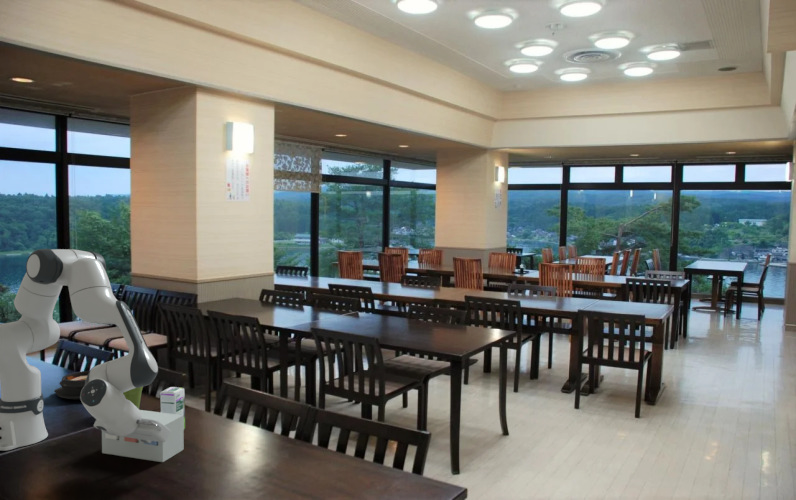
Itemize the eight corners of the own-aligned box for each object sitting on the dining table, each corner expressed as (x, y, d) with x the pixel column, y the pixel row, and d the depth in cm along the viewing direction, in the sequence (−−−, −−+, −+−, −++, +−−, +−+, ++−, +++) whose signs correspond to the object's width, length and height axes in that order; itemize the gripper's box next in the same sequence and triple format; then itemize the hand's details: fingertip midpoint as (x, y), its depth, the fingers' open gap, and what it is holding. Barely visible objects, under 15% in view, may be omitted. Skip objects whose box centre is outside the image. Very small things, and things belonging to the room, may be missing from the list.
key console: (102, 453, 180) (101, 418, 179) (125, 441, 190) (124, 407, 189) (162, 462, 174) (162, 426, 173) (183, 449, 184) (183, 415, 183)
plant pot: (150, 407, 222) (150, 378, 222) (137, 418, 210) (137, 387, 210) (119, 407, 222) (118, 378, 221) (104, 418, 210) (103, 387, 209)
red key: (124, 440, 176) (124, 429, 176) (131, 437, 179) (131, 426, 179) (135, 442, 175) (135, 431, 175) (142, 438, 178) (142, 427, 178)
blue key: (143, 443, 175) (143, 432, 174) (150, 440, 177) (150, 428, 177) (155, 445, 173) (155, 433, 173) (161, 441, 176) (161, 430, 176)
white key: (105, 438, 178) (105, 426, 178) (112, 434, 181) (112, 423, 181) (116, 439, 177) (116, 428, 177) (123, 436, 180) (123, 425, 180)
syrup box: (176, 434, 196) (175, 392, 195) (160, 433, 197) (160, 391, 196) (185, 428, 201) (185, 387, 200) (170, 427, 202) (169, 386, 202)
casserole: (41, 397, 232) (41, 376, 231) (83, 385, 249) (83, 366, 248) (84, 407, 221) (83, 385, 221) (125, 394, 238) (125, 373, 238)
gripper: (160, 412, 163) (182, 434, 173) (100, 405, 168) (124, 426, 178) (150, 434, 159) (173, 455, 169) (88, 425, 164) (114, 446, 174)
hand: (147, 440), depth 173 cm, fingers closed, pressing on blue key
